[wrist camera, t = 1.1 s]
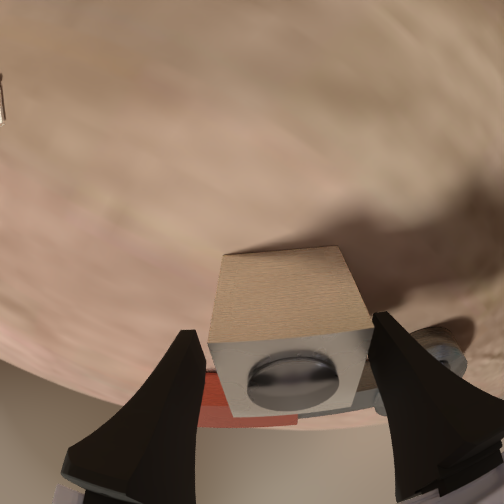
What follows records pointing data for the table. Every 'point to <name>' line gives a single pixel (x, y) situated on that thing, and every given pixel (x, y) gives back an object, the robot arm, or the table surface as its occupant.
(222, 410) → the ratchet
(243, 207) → the table surface
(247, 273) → the cube block
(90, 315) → the table surface
